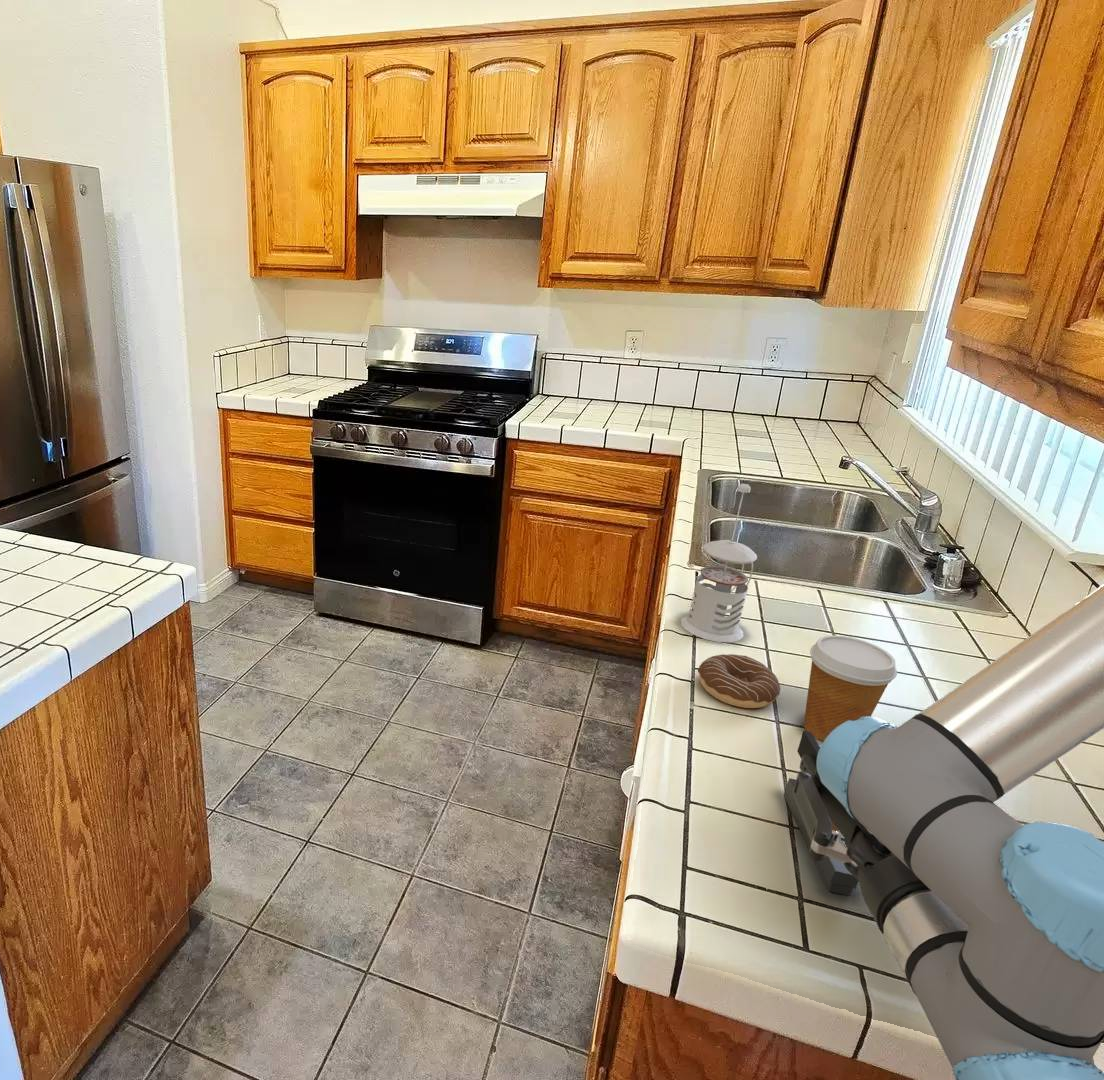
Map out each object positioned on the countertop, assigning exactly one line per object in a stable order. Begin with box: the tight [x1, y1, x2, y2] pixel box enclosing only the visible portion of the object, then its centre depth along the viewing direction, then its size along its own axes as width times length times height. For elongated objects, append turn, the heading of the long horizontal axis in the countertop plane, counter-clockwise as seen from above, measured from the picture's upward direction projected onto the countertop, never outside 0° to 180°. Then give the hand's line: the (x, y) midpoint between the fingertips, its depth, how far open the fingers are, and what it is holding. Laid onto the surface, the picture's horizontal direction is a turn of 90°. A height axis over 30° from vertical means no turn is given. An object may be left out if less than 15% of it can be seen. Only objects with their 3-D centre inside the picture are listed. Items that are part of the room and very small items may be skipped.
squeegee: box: [783, 777, 859, 897], centre depth 77 cm, size 3×14×13 cm, turn 170°
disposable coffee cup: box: [803, 634, 898, 743], centre depth 96 cm, size 10×10×12 cm
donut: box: [697, 653, 781, 709], centre depth 106 cm, size 11×11×4 cm
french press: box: [680, 483, 758, 643], centre depth 121 cm, size 10×12×25 cm
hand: (823, 744), depth 81 cm, fingers closed on squeegee, 3 cm apart
